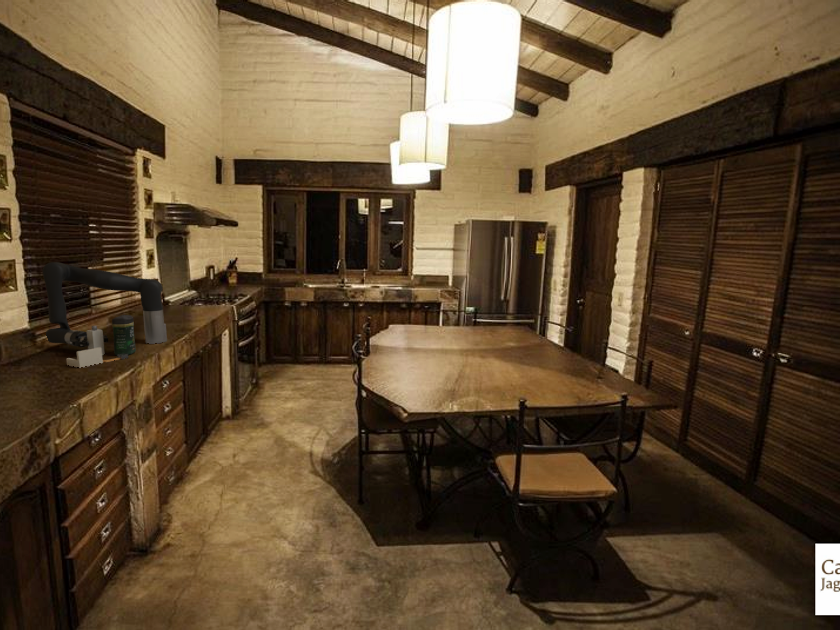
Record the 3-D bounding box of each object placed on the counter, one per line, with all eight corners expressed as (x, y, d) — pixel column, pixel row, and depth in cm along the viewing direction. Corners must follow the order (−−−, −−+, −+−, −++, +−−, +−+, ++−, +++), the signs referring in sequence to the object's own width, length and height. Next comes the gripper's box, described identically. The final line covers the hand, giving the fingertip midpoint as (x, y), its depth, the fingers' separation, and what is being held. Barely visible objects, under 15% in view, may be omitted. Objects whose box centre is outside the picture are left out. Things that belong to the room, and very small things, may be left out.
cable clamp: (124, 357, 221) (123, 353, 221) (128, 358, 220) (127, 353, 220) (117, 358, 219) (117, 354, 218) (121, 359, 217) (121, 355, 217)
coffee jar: (130, 356, 224) (127, 317, 221) (112, 356, 223) (108, 317, 220) (138, 351, 233) (135, 313, 230) (121, 351, 232) (117, 314, 229)
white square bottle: (99, 353, 228) (96, 324, 226) (104, 354, 226) (102, 325, 224) (89, 355, 224) (86, 326, 222) (94, 356, 222) (91, 327, 220)
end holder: (90, 360, 215) (88, 345, 214) (102, 363, 211) (101, 347, 210) (67, 365, 207) (65, 349, 206) (79, 368, 203) (78, 352, 201)
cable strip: (114, 357, 220) (114, 356, 220) (121, 359, 218) (121, 357, 218) (92, 362, 212) (92, 361, 212) (99, 363, 209) (99, 362, 209)
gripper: (60, 333, 223) (80, 336, 216) (92, 328, 236) (112, 331, 229) (62, 348, 224) (82, 352, 217) (94, 343, 237) (114, 346, 230)
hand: (97, 341), depth 223 cm, fingers open, 8 cm apart
